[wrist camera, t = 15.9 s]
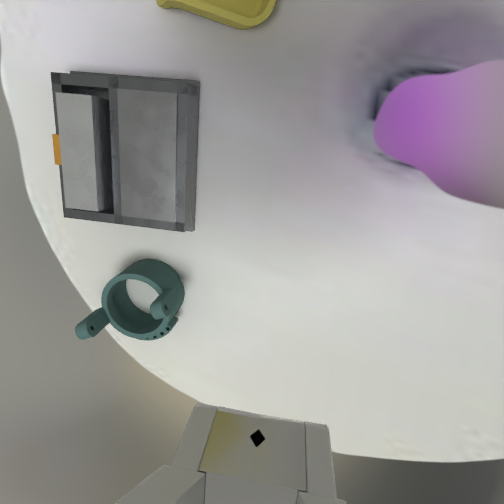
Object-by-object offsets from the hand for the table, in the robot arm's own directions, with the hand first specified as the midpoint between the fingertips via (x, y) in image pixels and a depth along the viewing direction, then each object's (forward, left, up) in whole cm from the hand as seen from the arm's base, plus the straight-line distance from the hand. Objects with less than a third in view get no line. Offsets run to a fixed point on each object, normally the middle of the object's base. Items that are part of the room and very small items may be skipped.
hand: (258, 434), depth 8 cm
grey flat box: (-4, -18, -31) cm, 36 cm away
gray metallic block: (-4, -21, -30) cm, 37 cm away
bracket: (+13, -16, -31) cm, 38 cm away
